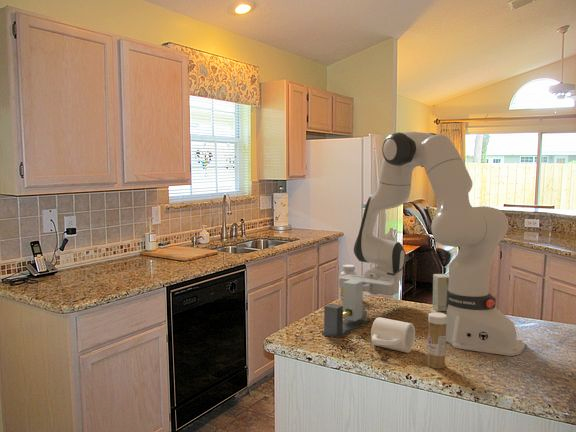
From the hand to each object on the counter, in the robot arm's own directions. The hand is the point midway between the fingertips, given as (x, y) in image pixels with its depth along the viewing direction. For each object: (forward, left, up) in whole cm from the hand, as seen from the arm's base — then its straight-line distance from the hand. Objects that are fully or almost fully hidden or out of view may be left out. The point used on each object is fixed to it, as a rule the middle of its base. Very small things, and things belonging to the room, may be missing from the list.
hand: (357, 289), depth 157 cm
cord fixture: (0, +7, -11) cm, 13 cm away
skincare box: (-18, -30, -11) cm, 37 cm away
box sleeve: (0, +3, -9) cm, 9 cm away
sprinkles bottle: (-33, +20, -11) cm, 40 cm away
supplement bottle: (+16, -24, -11) cm, 31 cm away
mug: (-19, +17, -11) cm, 28 cm away
